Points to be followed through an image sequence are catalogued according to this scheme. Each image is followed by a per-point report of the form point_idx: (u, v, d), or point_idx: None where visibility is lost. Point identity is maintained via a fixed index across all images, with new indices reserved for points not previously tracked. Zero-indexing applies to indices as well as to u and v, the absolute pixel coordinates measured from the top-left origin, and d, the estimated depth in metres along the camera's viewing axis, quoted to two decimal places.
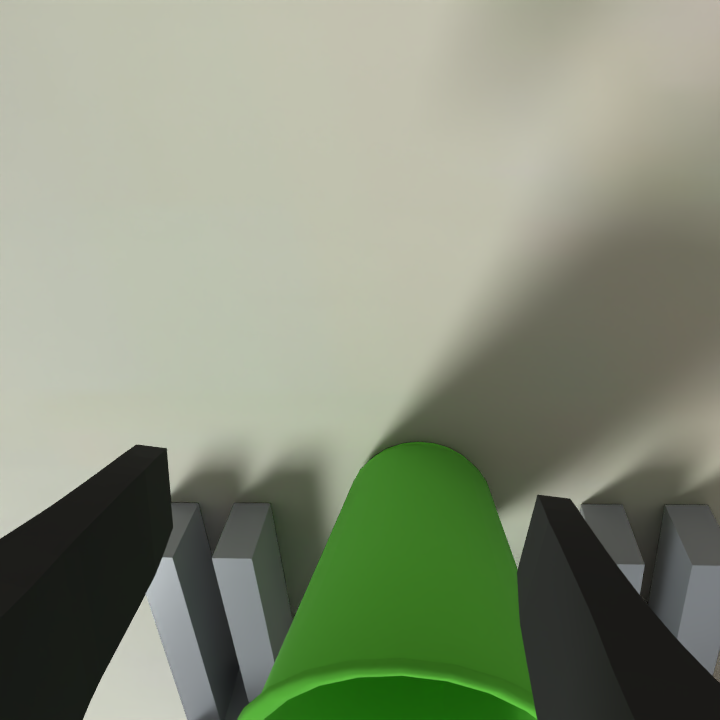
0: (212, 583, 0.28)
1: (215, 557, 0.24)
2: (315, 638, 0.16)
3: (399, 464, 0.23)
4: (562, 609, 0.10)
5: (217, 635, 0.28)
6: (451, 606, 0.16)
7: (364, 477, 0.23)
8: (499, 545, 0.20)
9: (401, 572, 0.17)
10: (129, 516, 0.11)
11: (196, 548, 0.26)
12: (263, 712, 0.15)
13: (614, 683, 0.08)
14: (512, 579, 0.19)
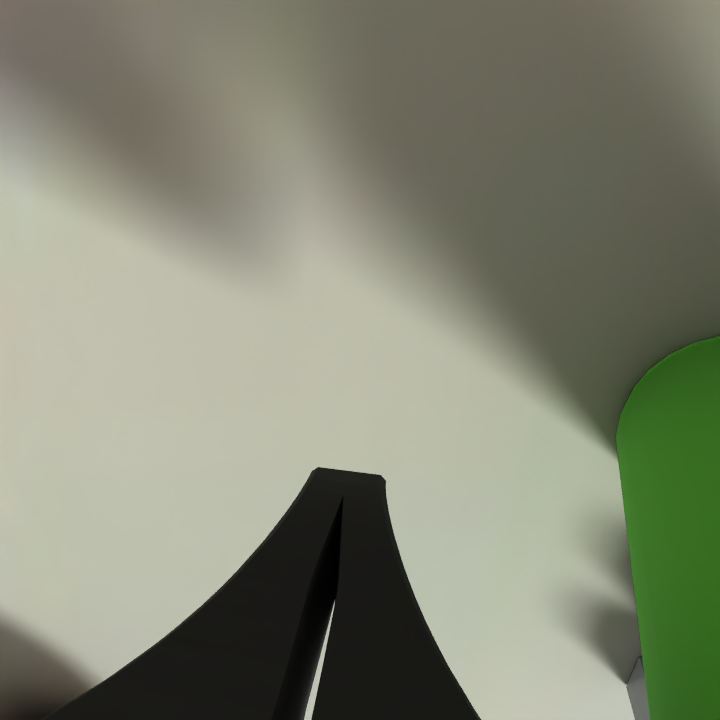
0: None
1: None
2: None
3: (620, 465, 0.16)
4: None
5: None
6: (709, 667, 0.09)
7: None
8: None
9: (656, 661, 0.10)
10: (333, 543, 0.11)
11: None
12: None
13: None
14: None
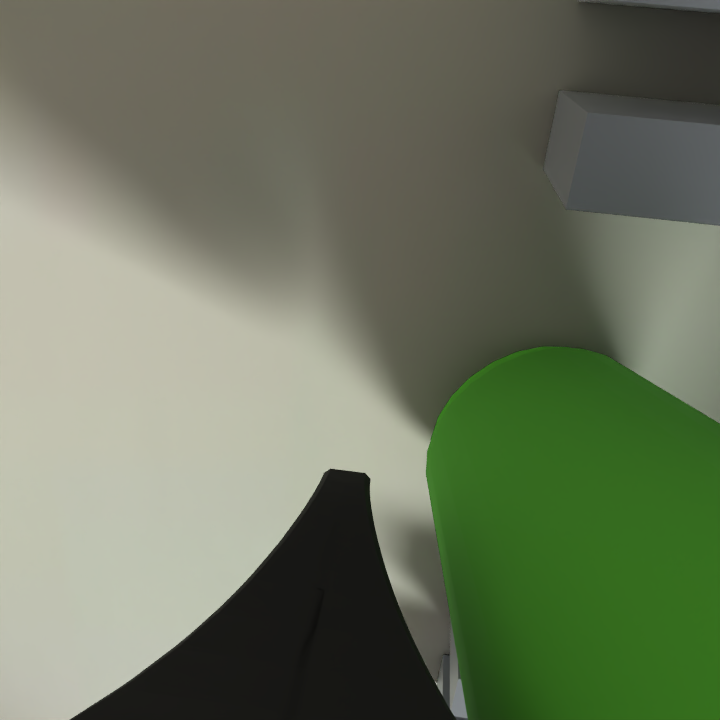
0: None
1: None
2: None
3: (433, 513, 0.14)
4: None
5: None
6: None
7: None
8: (571, 488, 0.10)
9: None
10: None
11: None
12: None
13: None
14: (622, 545, 0.08)
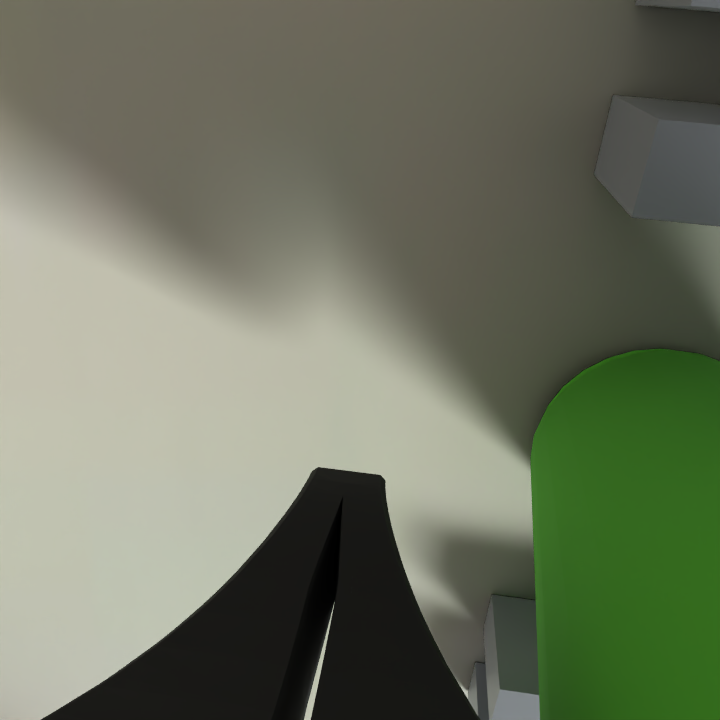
0: None
1: None
2: None
3: (532, 491, 0.14)
4: (337, 579, 0.10)
5: None
6: None
7: None
8: (661, 468, 0.10)
9: None
10: (333, 543, 0.11)
11: None
12: None
13: None
14: (700, 517, 0.09)
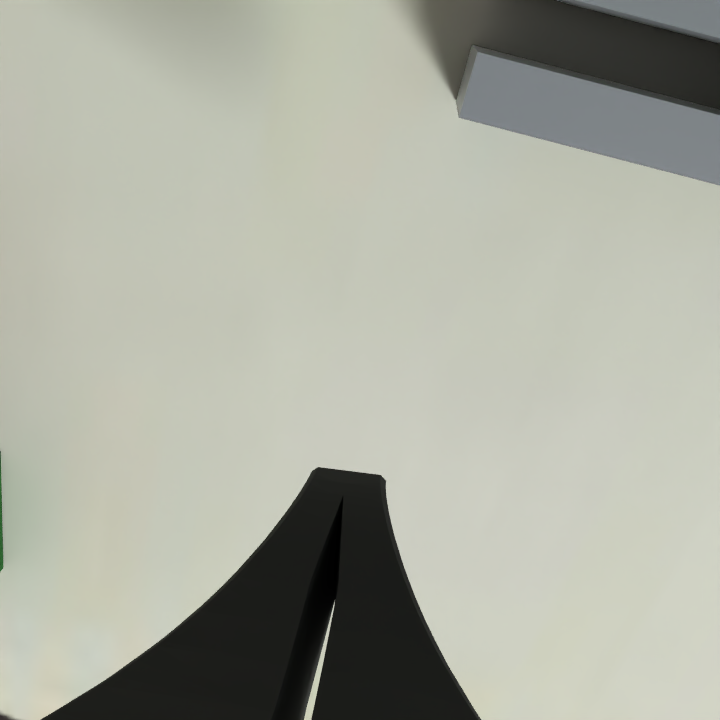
0: (614, 83, 0.18)
1: None
2: None
3: None
4: None
5: (708, 108, 0.17)
6: None
7: None
8: None
9: None
10: (333, 543, 0.11)
11: (525, 60, 0.17)
12: None
13: None
14: None
